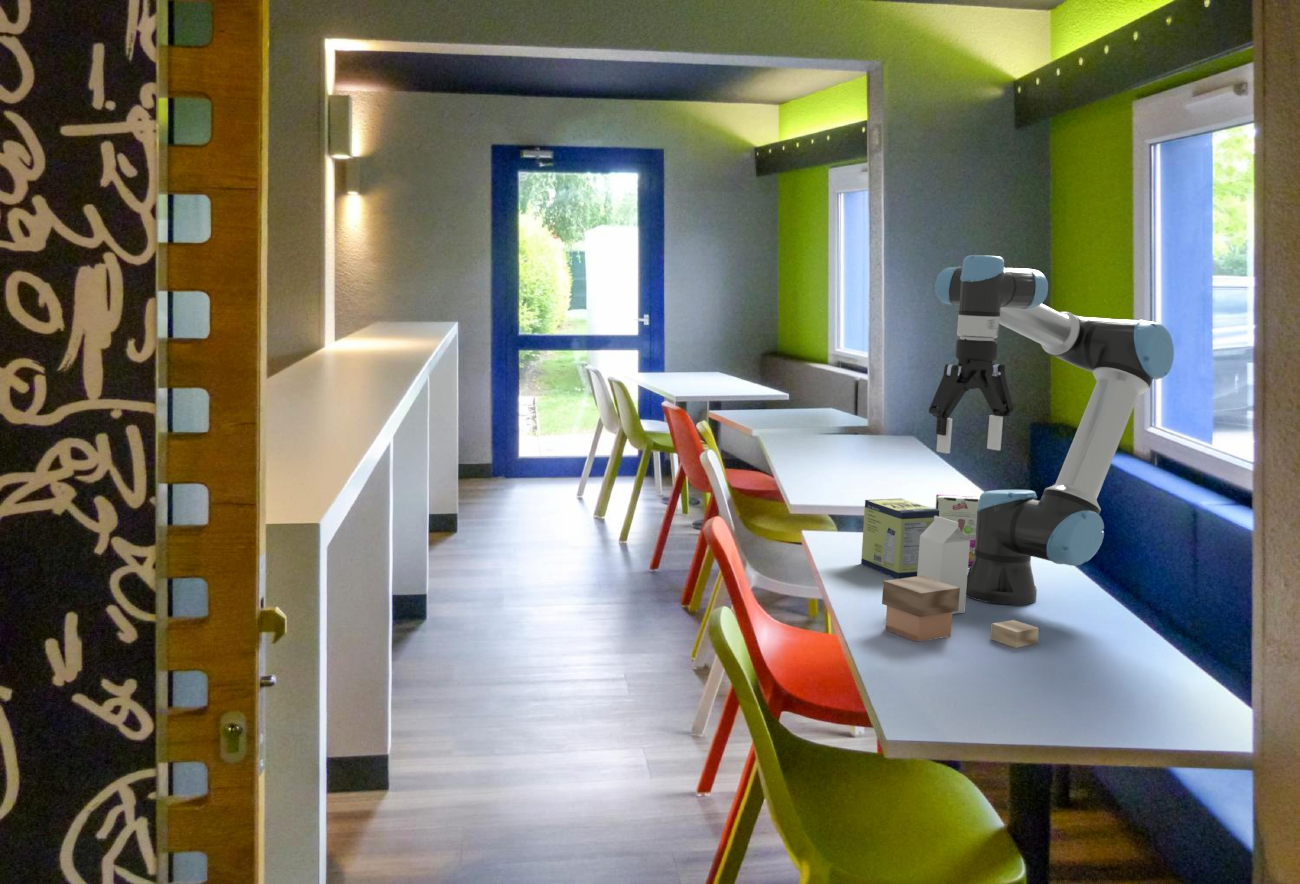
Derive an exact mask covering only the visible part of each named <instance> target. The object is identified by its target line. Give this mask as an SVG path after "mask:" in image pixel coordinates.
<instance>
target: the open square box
mask: <svg viewBox="0 0 1300 884" xmlns="http://www.w3.org/2000/svg"><path fill="white" fill-rule="evenodd" d="M885 614H886V615H885V616H886V617H885V627H884V629H885V630H886V631H888V632H890V633H893V634H896V635H898V636H901V637H904V638H907V639H909V640H912V641H914V642H917V643H919V642H918V641H920V642H924V641H930V639H931V640H936V639H935V638H937V639H941V638H940V637H943V638H947V637H948V638H949V637H952V626H953V625H952V623H953V622H952V621H953V614H952V612H949V613H943V614H936V615H930V616H924V617H918V616H915V615H912V614H909V613H906V612H904V611H901V610H898V609H895V608H892V607H889V606H887V605H886V613H885Z"/></svg>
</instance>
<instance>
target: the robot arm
mask: <svg viewBox="0 0 1300 884" xmlns="http://www.w3.org/2000/svg"><path fill="white" fill-rule="evenodd" d="M934 286H935V287H934V288H935V289H934V291H935V294H936V297H937V299H938V300H939V301H940V302H941V303H943V304H946V305H950V306H959V308H958V315H957V316H958V317H957V327H956V335H957V336H958V337H959V338H958V339H957V340H956V344H955V355H954V356H955V358H956V359H957V360H958V362H957V364H951V363H946V364H945V365H944V369H943V376H942V378H941V380H940V383H939V385H938V387H937V390H936V392H935V394H934V397H933V399H932V402H931V404H930V406H929V408H928V413H929V414H931V415H932V417H936V429H935V433H936V435H937V438H936V440H937V441H936V452H938V453H943V454H951V444H952V443H951V442H952V430H953V418H951V417H950V416H951V415H952V413H953V411H954V410H955V408H956V407H957V405H958V404H959V403H960V401H961V400H962V399H963V397H964V395H965V393H967V392H968V391H969V390H970V389H971V390H973V389H974V390H975V389H979V390H980V392H981V393H982V395H983V397H984V399H985V400H986V403H987V404H988V407H989V408H990V410H991V412H992V414H989V417H988V420H989V421H988V428H987V429H988V431H987V443H986V449H988V450H994V451H1001V446H1002V437H1003V436H1002V435H1003V433H1004V429H1005V428H1004V427H1005V418H1006V417H1009V416H1010V415H1011V413H1013V411H1014V405H1013V402H1012V401H1013V400H1012V397H1011V394H1010V389H1009V386H1008V383H1007V379H1006V366H1005V365H1004V364H1000V363H999V364H998V363H993V361H996V360H997V359H998V346H999V343H998V341H997V340H995V339H998V337H999V328H1000V325H1001V326H1003V327H1005V328H1006V329H1010V330H1012V331H1013V332H1015V333H1017V334H1019V335H1021V336H1024V337H1026V338H1028V339H1030V340H1031V341H1033V342H1035V343H1038V344H1040V345H1041V348H1042V349H1043V350H1044V352H1045V353H1047V354H1048V355H1051V356H1053V357H1056V358H1057V359H1060V360H1061V361H1063V362H1066V363H1068V364H1070V365H1073V366H1074V367H1077V368H1080V369H1082V370H1085V371H1088V372H1092V375H1093V377H1094V379H1095V381H1096V383H1095V386H1094V388H1093V390H1092V393H1091V395H1090V397H1089V400H1088V403H1087V406H1086V407H1085V409H1084V412H1083V415H1082V417H1081V420H1080V423H1079V425H1078V427H1077V429H1076V432H1075V435H1074V437H1073V440H1072V442H1071V445H1070V447H1069V449H1068V452H1067V454H1066V457H1065V459H1064V461H1063V463H1062V467H1061V469H1060V471H1059V474H1058V477H1057V479H1056V481H1055V483H1054V484H1052V486H1051V485H1050V486H1049V487H1045V488H1044V490H1043V493H1042V496H1041V498H1040V500H1038V499H1037V498H1038V496H1037V493H1036V491H1035V490H1031V489H996V490H987V491H984V492H982V493H981V494H980V496H979V497H980V498H979V505H978V509H977V525H976V541H975V555H974V560H973V562H972V565H971V567H969V569H968V575H967V588H966V597H969V598H971V599H974V600H977V601H981V602H985V603H992V604H997V605H998V604H1000V605H1015V606H1016V605H1018V606H1019V605H1027V604H1029V605H1030V604H1031V603H1032V604H1033V603H1034V602H1036V601H1037V592H1038V590H1037V586H1036V585H1035V580H1034V573H1033V570H1032V564H1031V563H1032V562H1031V560H1032V557H1034V558H1037V559H1040V560H1041V559H1042V560H1045V561H1049V562H1052V563H1054V564H1057V565H1066V566H1072V567H1075V566H1080V565H1083V564H1084V563H1087V562H1088V561H1090V560H1091V559H1092V558H1093V557H1094V556H1095V555H1096V554H1097V553H1098V551H1099V549H1100V547H1101V546H1102V543H1103V541H1104V540H1103V539H1104V536H1105V532H1104V529H1105V524H1104V520H1103V519H1102V517H1101V516H1100V513H1101V510H1102V509H1101V507H1100V505H1099V503H1098V500H1097V499H1098V497H1099V494H1100V492H1101V490H1102V487H1103V485H1104V481H1105V479H1106V477H1107V475H1108V472H1109V470H1110V467H1111V465H1112V463H1113V459H1114V457H1115V454H1116V452H1117V449H1118V447H1119V444H1120V441H1121V439H1122V437H1123V434H1124V432H1125V429H1126V426H1127V424H1128V421H1129V419H1130V417H1131V414H1132V411H1133V410H1134V407H1135V404H1136V402H1137V399H1138V397H1139V396H1140V395H1143V394H1145V393H1147V392H1148V391H1149V390H1150V387H1151V385H1152V383H1153V381H1154V380H1159V379H1163V378H1164V377H1165V376H1167V375H1168V374H1169V373H1170V371H1171V369H1172V366H1173V362H1174V359H1175V358H1174V357H1175V348H1174V347H1175V345H1174V342H1173V338H1172V336H1171V335H1172V334H1171V333H1170V332H1169V330H1168V329H1167V328H1166V327H1165V325H1164V324H1162V323H1160V322H1156V321H1149V320H1145V319H1139V320H1136V319H1118V318H1106V317H1105V318H1104V317H1089V316H1088V317H1087V316H1079V315H1075V314H1074V313H1072V312H1069V311H1057V310H1055V309H1053V308H1051V307H1049V306H1047V305H1046V304H1043V303H1044V301H1045V300H1046V299H1047V296H1048V291H1049V282H1048V279H1047V278H1046V276H1045V274H1044V273H1042V272H1041V271H1040V270H1038V269H1032V268H1026V267H1024V268H1017V267H1015V268H1013V267H1005V259H1004V258H1003V257H1002V256H998V255H997V256H996V255H978V254H977V255H976V254H975V255H967V256H965V257H964V259H963V262H962V266H953V267H951V266H950V267H946V268H944V269H942V270H941V271H940V272H939V274H938V275H937V277H936V280H935V284H934Z"/></svg>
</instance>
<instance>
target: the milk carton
mask: <svg viewBox="0 0 1300 884" xmlns="http://www.w3.org/2000/svg"><path fill="white" fill-rule="evenodd" d="M969 549H970V540H969V539H968V538H967V537H966V536H965V535H964V534H963V533H962V531H961V530H960V528H959V527H958V522H955V521H952V520H948V519H945V518H941V517H938V516H934V521H933V523H932V524H931V525H930V526H929V527H928V528H927V529H926V530H925V531H924V532H923V533H922V534H921V535H920V544H919V558H918V572H917V576H924V577H927V578H930V579H933V580H937V581H940V582H943V583H946V584H949V585H953V586H956V587H959V588H960V593H959V606H958V611H955V612H952V615H956V614H965V610H966V599H967V595H966V588H967V575H968V572H969V567H968V562H969Z"/></svg>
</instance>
